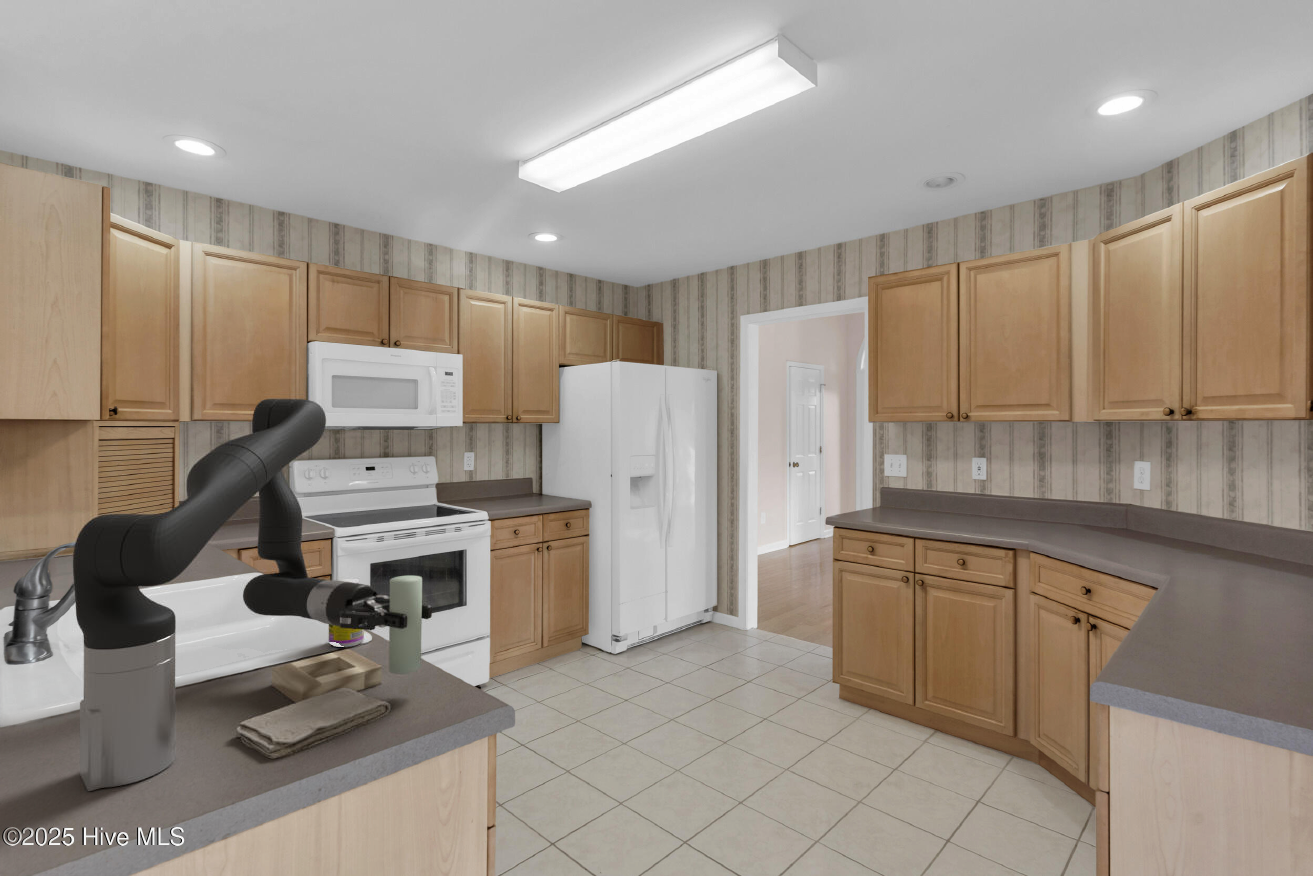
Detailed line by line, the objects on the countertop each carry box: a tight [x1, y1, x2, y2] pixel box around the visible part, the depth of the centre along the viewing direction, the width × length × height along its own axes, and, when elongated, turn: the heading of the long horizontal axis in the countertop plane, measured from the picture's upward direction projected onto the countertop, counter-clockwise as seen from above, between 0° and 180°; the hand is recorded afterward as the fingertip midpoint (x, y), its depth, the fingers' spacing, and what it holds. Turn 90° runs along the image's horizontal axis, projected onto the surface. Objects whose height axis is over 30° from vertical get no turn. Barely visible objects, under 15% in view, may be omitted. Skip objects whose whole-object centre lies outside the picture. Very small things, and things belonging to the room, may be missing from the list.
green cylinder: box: [388, 575, 423, 675], centre depth 107 cm, size 5×5×15 cm
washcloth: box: [236, 688, 391, 760], centre depth 96 cm, size 12×18×3 cm, turn 148°
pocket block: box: [271, 648, 383, 704], centre depth 111 cm, size 13×13×3 cm
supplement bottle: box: [328, 578, 365, 648], centre depth 132 cm, size 7×7×13 cm
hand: (418, 617), depth 106 cm, fingers closed on green cylinder, 5 cm apart
